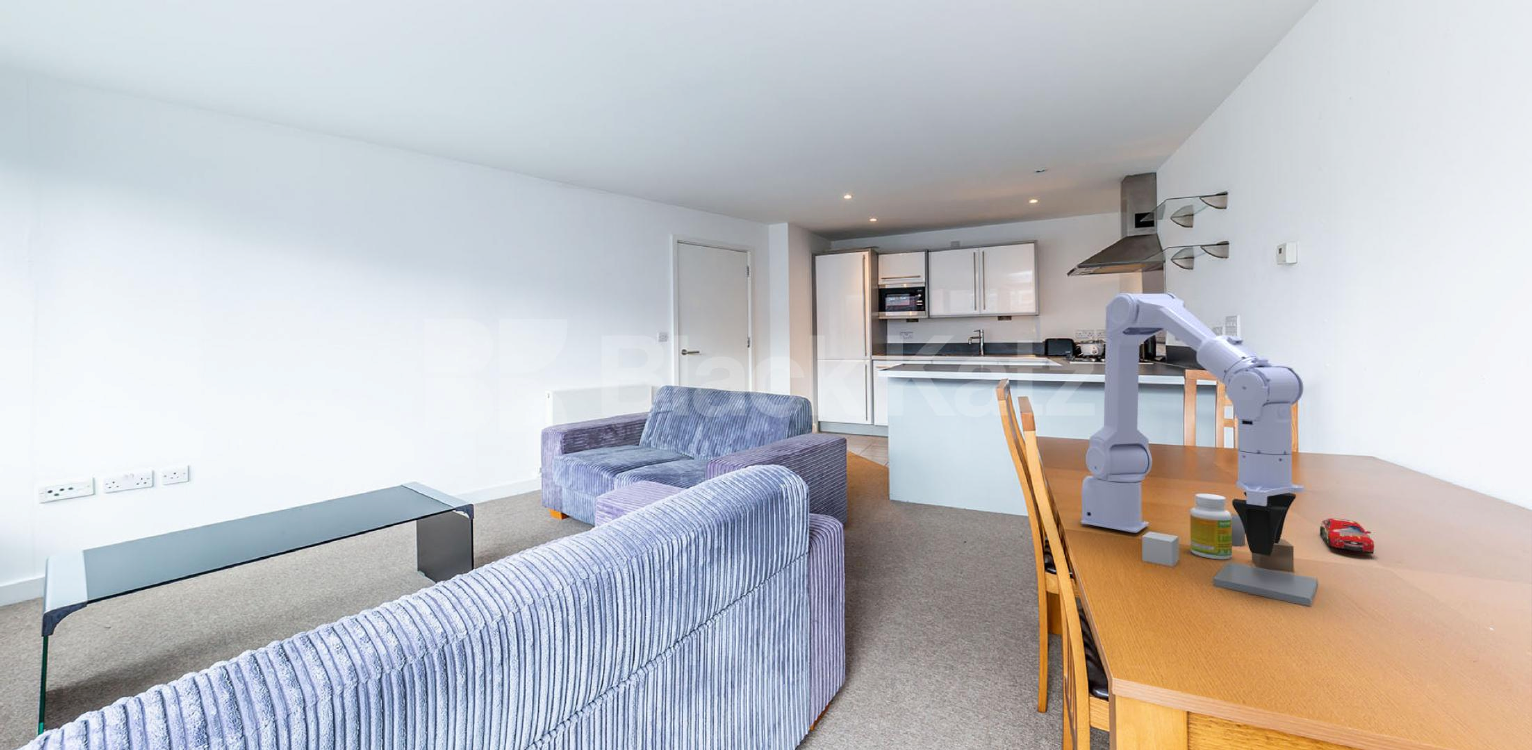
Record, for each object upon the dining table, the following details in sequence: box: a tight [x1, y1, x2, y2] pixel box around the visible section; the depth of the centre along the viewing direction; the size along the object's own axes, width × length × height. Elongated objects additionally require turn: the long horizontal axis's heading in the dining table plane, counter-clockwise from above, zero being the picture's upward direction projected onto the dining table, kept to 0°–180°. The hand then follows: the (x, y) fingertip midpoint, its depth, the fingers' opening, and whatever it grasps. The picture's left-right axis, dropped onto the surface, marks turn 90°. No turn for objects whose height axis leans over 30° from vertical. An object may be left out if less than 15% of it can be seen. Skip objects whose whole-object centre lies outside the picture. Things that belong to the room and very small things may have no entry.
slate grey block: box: [1230, 513, 1246, 547], centre depth 99 cm, size 4×4×5 cm
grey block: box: [1141, 531, 1180, 567], centre depth 92 cm, size 4×4×4 cm
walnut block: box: [1251, 538, 1295, 573], centre depth 88 cm, size 4×4×4 cm
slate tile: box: [1212, 561, 1319, 607], centre depth 81 cm, size 10×10×1 cm
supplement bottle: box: [1189, 493, 1233, 560], centre depth 94 cm, size 5×5×10 cm
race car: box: [1319, 518, 1375, 555], centre depth 96 cm, size 13×5×4 cm, turn 141°
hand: (1265, 547), depth 81 cm, fingers open, 7 cm apart
